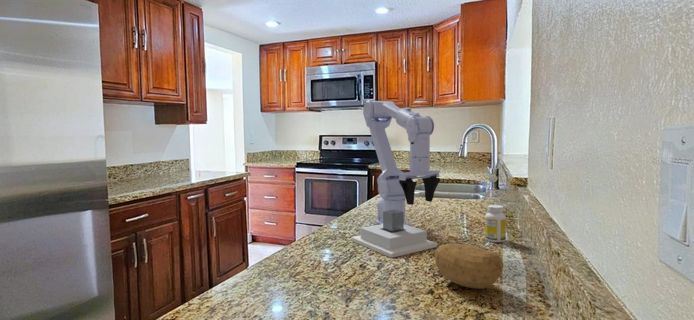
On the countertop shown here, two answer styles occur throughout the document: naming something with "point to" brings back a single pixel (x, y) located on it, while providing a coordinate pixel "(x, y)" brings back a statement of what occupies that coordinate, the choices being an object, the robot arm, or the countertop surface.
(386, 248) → the bracket board
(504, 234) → the supplement bottle
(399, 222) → the grey tall block
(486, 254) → the potato
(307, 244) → the countertop surface
